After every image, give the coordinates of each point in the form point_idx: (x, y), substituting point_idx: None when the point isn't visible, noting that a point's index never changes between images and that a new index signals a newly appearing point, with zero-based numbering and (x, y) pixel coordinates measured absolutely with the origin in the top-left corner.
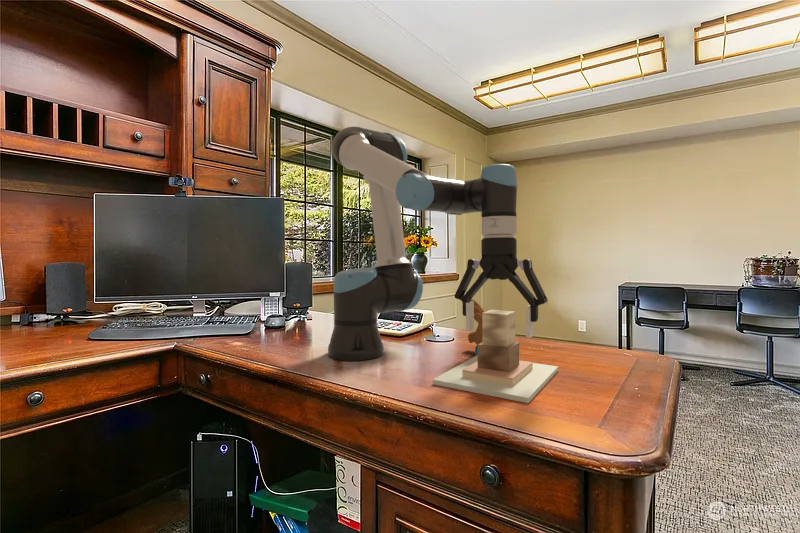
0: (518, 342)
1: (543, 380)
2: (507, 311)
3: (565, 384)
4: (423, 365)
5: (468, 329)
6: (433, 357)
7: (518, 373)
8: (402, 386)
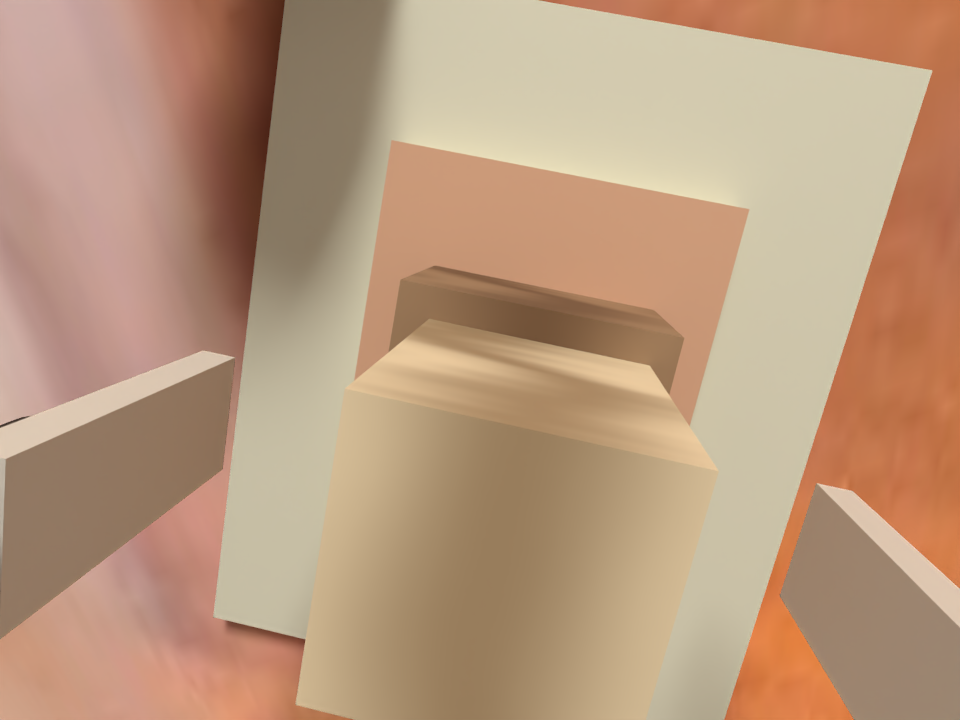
0: (677, 343)
1: (802, 449)
2: (601, 508)
3: (926, 379)
4: (36, 290)
5: (207, 474)
6: (5, 63)
7: None
8: (111, 668)
